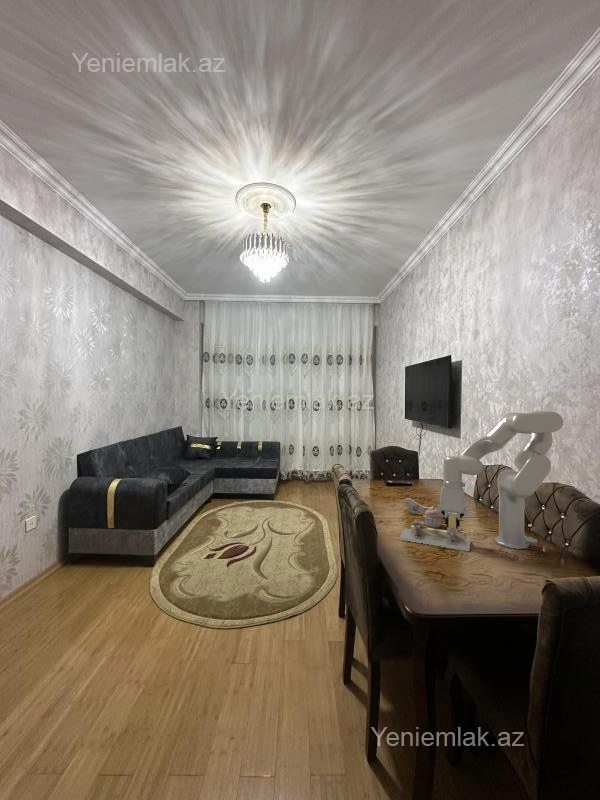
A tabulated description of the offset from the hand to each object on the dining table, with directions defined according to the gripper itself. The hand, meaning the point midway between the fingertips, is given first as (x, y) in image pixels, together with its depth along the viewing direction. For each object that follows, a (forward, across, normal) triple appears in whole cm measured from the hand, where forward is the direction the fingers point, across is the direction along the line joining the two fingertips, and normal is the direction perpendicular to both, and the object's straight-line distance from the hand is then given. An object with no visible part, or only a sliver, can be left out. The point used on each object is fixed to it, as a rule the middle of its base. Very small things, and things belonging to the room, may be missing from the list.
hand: (452, 526), depth 160 cm
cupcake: (+7, +10, -17) cm, 21 cm away
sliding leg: (+5, 0, +1) cm, 5 cm away
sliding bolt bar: (+5, +6, +1) cm, 8 cm away
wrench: (+7, +13, -33) cm, 36 cm away
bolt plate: (+7, +7, +3) cm, 10 cm away
